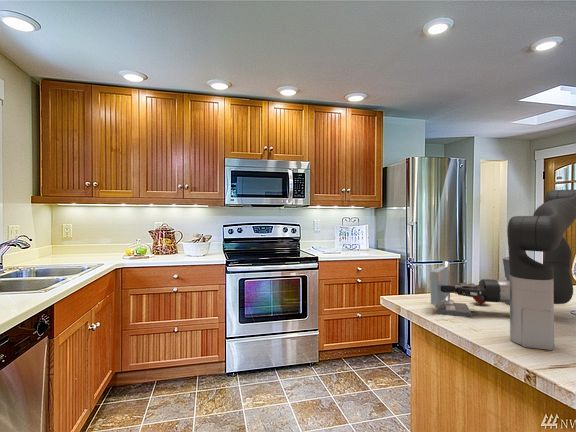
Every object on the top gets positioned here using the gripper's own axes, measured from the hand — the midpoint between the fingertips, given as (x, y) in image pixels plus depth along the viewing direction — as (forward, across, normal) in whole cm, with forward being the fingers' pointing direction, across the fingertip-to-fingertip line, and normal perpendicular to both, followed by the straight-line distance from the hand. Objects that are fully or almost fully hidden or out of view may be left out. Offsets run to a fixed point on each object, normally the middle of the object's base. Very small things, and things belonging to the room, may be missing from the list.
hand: (441, 288), depth 113 cm
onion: (-17, -13, +8) cm, 23 cm away
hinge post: (-4, -12, +8) cm, 15 cm away
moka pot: (-30, -18, +8) cm, 36 cm away
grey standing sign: (0, -3, +5) cm, 6 cm away
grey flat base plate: (-4, -2, +8) cm, 9 cm away
